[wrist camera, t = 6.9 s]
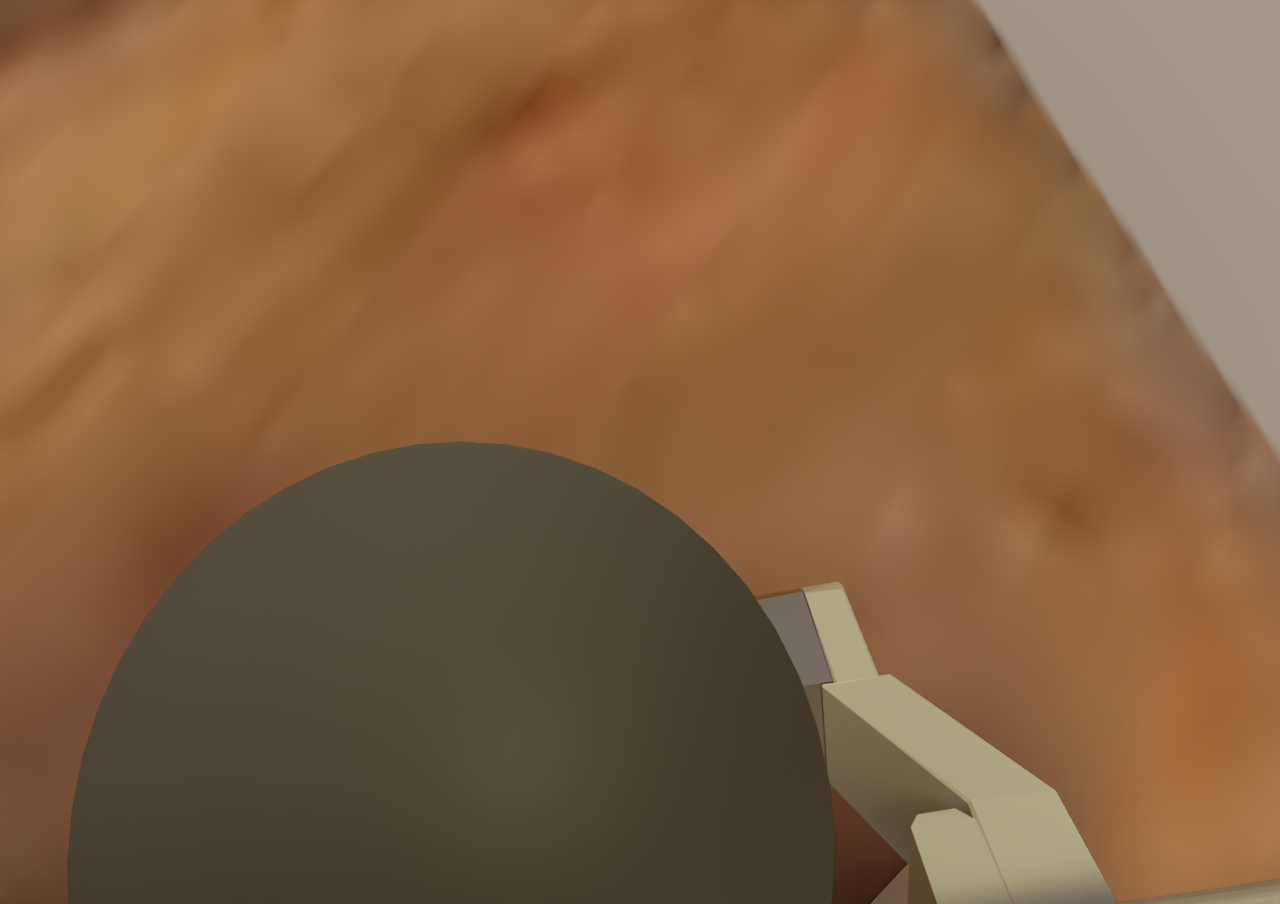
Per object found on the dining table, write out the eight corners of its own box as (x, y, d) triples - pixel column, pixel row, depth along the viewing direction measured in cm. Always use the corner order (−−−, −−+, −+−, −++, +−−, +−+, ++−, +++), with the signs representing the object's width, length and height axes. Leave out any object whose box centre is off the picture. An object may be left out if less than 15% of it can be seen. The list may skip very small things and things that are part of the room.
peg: (483, 663, 18) (-72, 804, 5) (633, 516, 19) (469, 302, 6) (628, 827, 17) (398, 1503, 4) (782, 669, 18) (1008, 842, 5)
